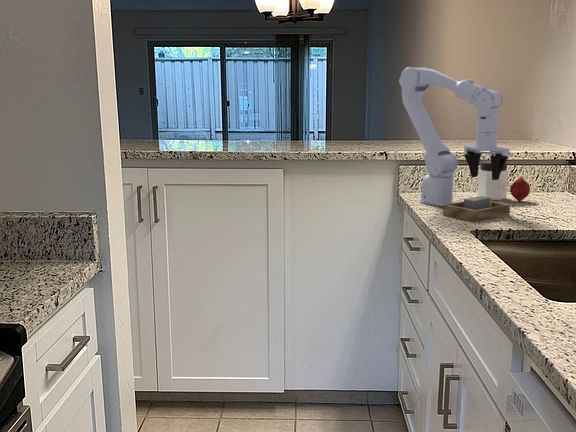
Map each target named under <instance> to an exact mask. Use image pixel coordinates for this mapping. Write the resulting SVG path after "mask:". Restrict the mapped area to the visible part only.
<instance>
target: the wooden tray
mask: <svg viewBox="0 0 576 432" xmlns="http://www.w3.org/2000/svg"><path fill="white" fill-rule="evenodd" d="M456 202H457V203H451V204H446V205H444V206H443V208H442V209H443V211H442V212H443V214H442V215H443V216H447V217H451V218H454V219H455V218H456V219H459V220H460V219H461V220H465V221H469V222H475V223H477V222H483V220H484V221H488V220H491V219H492V220H493V219H497V218H502V217H507V216H510V215H511V214H510V213H511V204H508V203H502V202H497V201H492V203H491V207H490V208H485V209H480V210H472V209H467V208H464V200H463V201H456ZM487 219H488V220H487Z"/></svg>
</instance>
